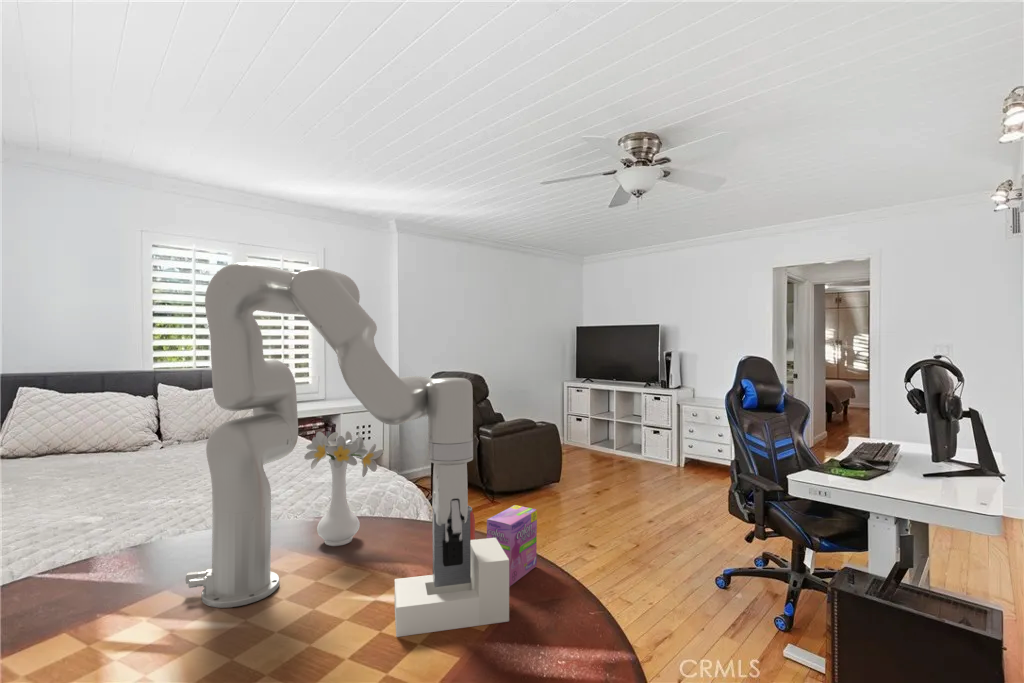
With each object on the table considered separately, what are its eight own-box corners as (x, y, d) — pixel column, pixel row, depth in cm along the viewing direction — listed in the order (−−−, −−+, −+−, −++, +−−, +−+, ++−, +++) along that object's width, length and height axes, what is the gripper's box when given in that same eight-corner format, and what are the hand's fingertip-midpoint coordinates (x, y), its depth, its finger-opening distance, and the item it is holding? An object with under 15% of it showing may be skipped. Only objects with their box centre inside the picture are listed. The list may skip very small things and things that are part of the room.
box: (510, 587, 94) (510, 524, 94) (485, 580, 97) (485, 518, 97) (537, 567, 103) (537, 509, 103) (513, 560, 106) (514, 504, 106)
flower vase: (366, 554, 109) (367, 438, 109) (288, 549, 112) (289, 436, 112) (391, 533, 122) (391, 429, 122) (320, 528, 125) (321, 427, 125)
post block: (396, 636, 78) (396, 571, 78) (394, 605, 88) (394, 547, 88) (509, 621, 82) (509, 559, 83) (495, 592, 92) (495, 537, 92)
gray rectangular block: (434, 587, 83) (434, 513, 83) (432, 579, 86) (432, 508, 86) (470, 582, 84) (470, 510, 85) (467, 575, 87) (467, 505, 87)
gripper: (424, 443, 92) (424, 544, 92) (433, 462, 77) (433, 584, 76) (464, 441, 94) (465, 540, 94) (481, 459, 78) (482, 578, 78)
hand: (451, 559), depth 85 cm, fingers closed on gray rectangular block, 3 cm apart
